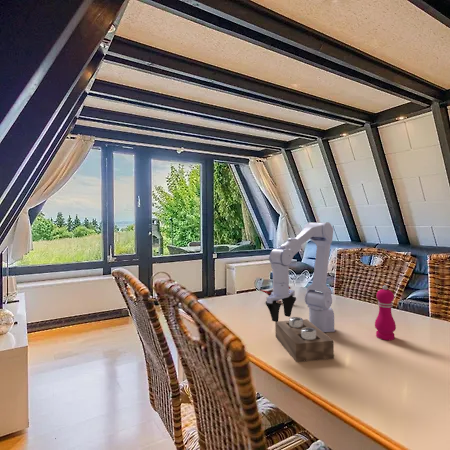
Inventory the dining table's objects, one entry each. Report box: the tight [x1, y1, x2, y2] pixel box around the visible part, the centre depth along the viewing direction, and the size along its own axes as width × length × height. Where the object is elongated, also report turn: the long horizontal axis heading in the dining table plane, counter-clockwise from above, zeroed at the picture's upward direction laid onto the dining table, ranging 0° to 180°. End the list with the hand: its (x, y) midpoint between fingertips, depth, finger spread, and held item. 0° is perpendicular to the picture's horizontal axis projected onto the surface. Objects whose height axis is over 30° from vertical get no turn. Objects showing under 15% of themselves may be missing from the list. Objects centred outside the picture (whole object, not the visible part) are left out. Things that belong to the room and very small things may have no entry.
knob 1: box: [288, 316, 304, 328], centre depth 124 cm, size 5×5×6 cm
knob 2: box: [301, 328, 316, 341], centre depth 112 cm, size 5×5×6 cm
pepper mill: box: [374, 284, 397, 341], centre depth 125 cm, size 7×7×20 cm
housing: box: [274, 318, 335, 363], centre depth 118 cm, size 13×22×6 cm, turn 8°
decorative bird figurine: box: [259, 286, 291, 303], centre depth 177 cm, size 3×18×10 cm, turn 72°
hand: (281, 318), depth 120 cm, fingers open, 7 cm apart
